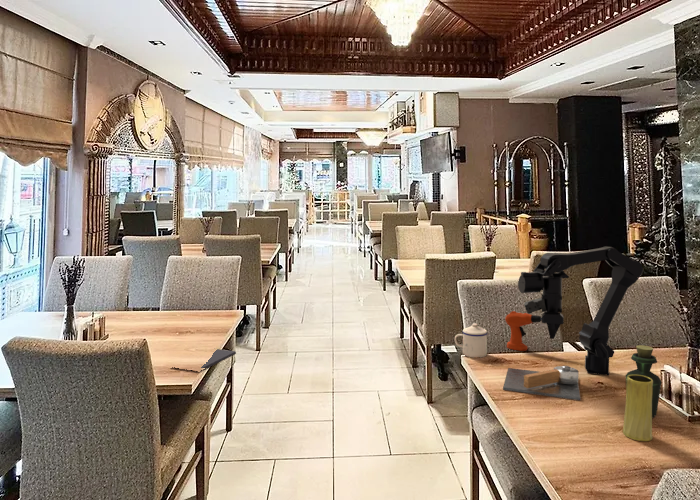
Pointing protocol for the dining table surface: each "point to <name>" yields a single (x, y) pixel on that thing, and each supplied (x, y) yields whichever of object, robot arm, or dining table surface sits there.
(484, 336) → the teacup with lid
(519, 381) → the chuck base plate
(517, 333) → the toy drill
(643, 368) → the potion bottle
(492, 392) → the dining table surface
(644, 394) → the vase
